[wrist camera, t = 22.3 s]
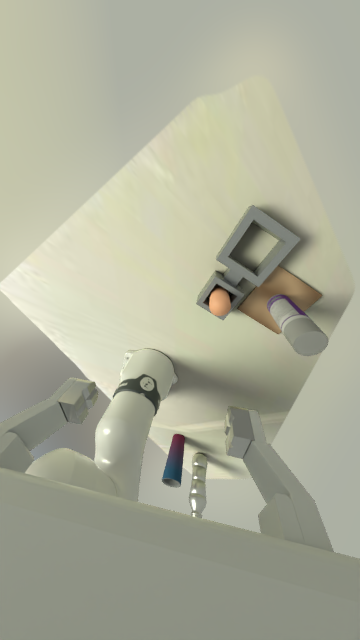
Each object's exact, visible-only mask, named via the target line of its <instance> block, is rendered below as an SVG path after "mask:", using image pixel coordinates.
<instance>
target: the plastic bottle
mask: <svg viewBox="0 0 360 640" xmlns="http://www.w3.org/2000/svg"><path fill="white" fill-rule="evenodd" d="M192 467H193V474H192V485H191V490H190V495H189V503H190V506H191V509H192V513H191V516H194V517H198V518H202V515H201V513H202V511H203V510H204V508H205V506H206V491H205V478H206V470H207V458H206V456H204V455H203V454H199V453H197V454H195V455H194V456H193V459H192Z"/></svg>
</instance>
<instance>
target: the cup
mask: <svg viewBox="0 0 360 640" xmlns="http://www.w3.org/2000/svg"><path fill="white" fill-rule="evenodd" d="M184 442H185V438H184V436H182V435H180V434H175V435H174V436H173V439H172V443H171V447H170V451H169V455H168V459H167V463H166V466H165V470H164V474H163V479H162V482H163V483H164V484H166V485H168V486H170V487H180V486H181V476H182V465H183V454H184Z"/></svg>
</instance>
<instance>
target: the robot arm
mask: <svg viewBox="0 0 360 640" xmlns="http://www.w3.org/2000/svg"><path fill="white" fill-rule="evenodd" d="M120 375H121V376H120V384H119V386H118V387H117V389H116V391H115V393H114V395H113V400H112V401H111V403H110V405H109V407H108V408H107V410H106V412H105V413H104V415H103V417H102V418H101V420H100V422H99V423H98V426H97V428H96V434H95V443H96V452H95V459H94V462H93V461H92V460H91V459H90V458H88V457H86V456H84V455H82V454H80V453H78V452H75V451H73V450H70V449H68V448H60V449H56V450H54V451H51V452H49V453H47V454H45V455H43V456H42V457H40V458H39V459H37V460H36V461H34V457H33V455H32V454H31V453H30V451H31V450H32V449H34V448H35V447H36V446H38V445H39V444H40V443H42V442H43V441H44V440H46V439H47V438H48V437H50V436H51V435H52V434H54V433H55V432H56V431H58V430H59V429H60V428H62V427H63V426H64V425H65V424H67V423H68V422H71V423H76V424H82V423H83V421H84V420H85V418H86V417H87V415H88V413H89V409H90V408H92V407H93V406H94V404H95V403H96V401H97V398H98V391H97V390H96V389H95V387H96V384H95V382H92V381H87V380H82V379H77V378H69V379H68V380H67V381H66V382H65V383H64V384H63V385H62V386H61V387H60V388H59V389H58V390H57V391H56V392H55V393H54V394H53V395H52V396H51V397H50V398H49V400H44V401H42V402H40V403H38V404H36V405H34V406H32V407H30V408H28V409H26V410H24V411H22V412H20V413H18V414H16V415H15V416H13V417H11V418H9V419H7V420H5V421H3V422H1V423H0V640H360V559H359V558H355V557H351V556H347V555H343V554H339V553H335V552H334V551H333V548H332V545H331V543H330V540H329V538H328V535H327V533H326V530H325V527H324V524H323V522H322V519H321V517H320V514H319V511H318V509H317V506H316V503H315V501H314V500H313V498H312V497H311V496H310V494H309V493H308V492H307V491H306V489H305V488H304V487H303V486H302V484H301V483H300V482H299V480H298V479H297V478H296V477H295V476H294V474H293V473H292V472H291V470H290V469H289V468H288V467H287V465H286V464H285V463H284V461H283V460H282V459H281V458H280V457H279V455H278V454H277V453H276V451H275V450H274V449H273V448H272V446H271V445H270V444H268V443H266V439H265V435H264V431H263V428H262V424H261V420H260V416H259V413H258V411H256V410H250V409H246V408H240V407H234V406H229V407H228V414H226V417H225V433H226V435H227V438H226V454H227V455H229V456H233V457H237V458H241V459H243V461H244V463H245V465H246V467H247V469H248V470H249V472H250V474H251V476H252V478H253V480H254V481H255V483H256V485H257V487H258V489H259V490H260V492H261V494H262V496H263V498H264V500H265V502H266V503H267V505H266V506H265V507H264V509H263V510H262V511H261V512H260V513H259V515H258V518H259V524H260V531H261V533H257V532H253V531H249V530H245V529H241V528H237V527H233V526H230V525H226V524H222V523H218V522H214V521H210V520H206V519H202V518H198V517H194V516H190V515H186V514H182V513H179V512H175V511H171V510H166V509H163V508H159V507H155V506H151V505H147V504H143V503H139V502H138V492H139V483H140V474H141V466H142V459H143V453H144V448H145V444H146V440H147V437H148V434H149V430H150V427H151V424H152V421H153V417H154V416H155V415H156V413H157V410H158V409H159V406H160V401H162V400H164V399H165V398H167V396H168V393H169V390H170V387H171V386H172V385H173V384H175V383H176V382H177V380H178V378H177V376H176V375H175V373H174V367H173V364H172V362H171V361H170V360H169V358H168V357H167V356H165V355H164V354H162V353H161V352H159V351H156V350H152V349H142V350H138V351H127V352H126V353H125V357H124V362H123V366H122V371H121V373H120ZM33 461H34V462H33ZM32 462H33V463H32Z"/></svg>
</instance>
